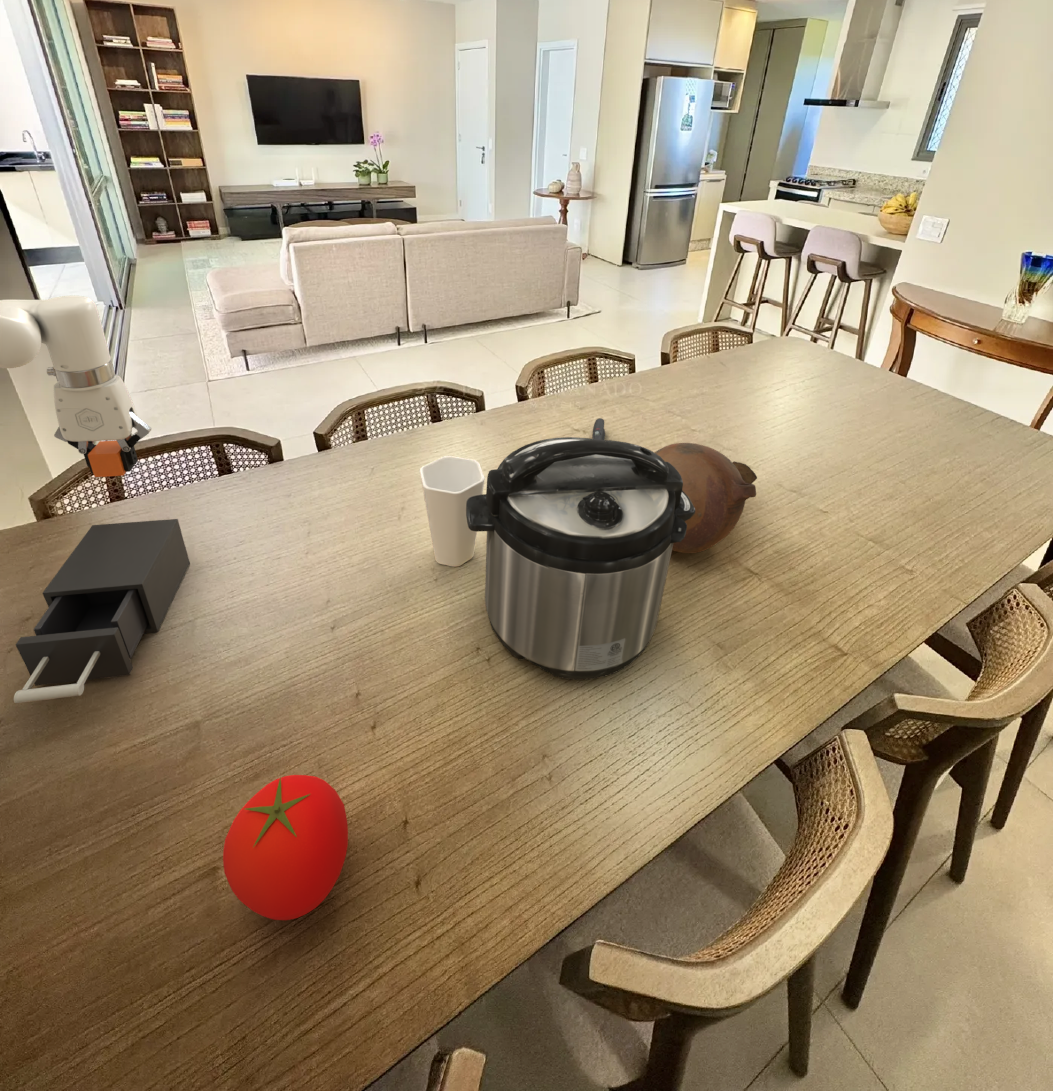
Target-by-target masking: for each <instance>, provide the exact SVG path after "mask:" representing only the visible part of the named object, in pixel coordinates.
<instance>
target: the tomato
mask: <svg viewBox="0 0 1053 1091" xmlns="http://www.w3.org/2000/svg"><path fill="white" fill-rule="evenodd" d="M348 847H349V826H348V818H347V812H346V808H345V804H344V802H343V800H342V799H341V796H340V795H339V794H338V792H337V791H336V789H335V788H334V787H333V786H332V785H330V783H329V782H327V781H326V780H324V779H323V778H320V777H318V776H314V775H308V774H291V775H285V776H282V777H281V776H280V777H278V778H276V779H274V780H272V781H271V782H269V783H267V784H266V785H264V787H262V788H261V789H259V790H258V791H257V792H256V793H255V794H254V795H253V796H252V797H251V798H250V799H249V800H248V801H247V802H246V803H245V804H244V805H243V806H242V808H241V809H240V810H239V811H238V813H237V815H236V816H235V817H234V819H233V821H232V823H231V825H230V827H229V829H228V832H227V834H226V836H225V839H224V843H223V850H222V865H223V873H224V875H225V877H226V880H227V883H228V885H229V887H230V889H231V891H232V893H233V894H234V896H236V898H237V899H238V900H239V901H240V902H241V903H242V904H243V905H245V906H246V908H248V909H250V910H251V911H252V912H254V913H256V914H258V915H259V916H261V917H264V918H266V919H270V920H273V921H290V920H294V919H298V918H300V917H303V916H305V915H307V914H309V913H310V912H312V911H313V910H315V909H316V908H317V907H319V906H320V905H321V904H322V903H323V901H325V899H326V898H327V897H328V896H329V894H330V893H331V891H332V890H333V888H334V886H335V885H336V883H337V881H338V879H339V878H340V875H341V873H342V870H343V867H344V865H345V861H346V856H347V852H348Z"/></svg>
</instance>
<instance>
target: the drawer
mask: <svg viewBox="0 0 1053 1091" xmlns="http://www.w3.org/2000/svg"><path fill="white" fill-rule="evenodd" d="M148 623H149V621H148V618H147V615H146V612H145V609H144V606H143V603H142V600H141V597H140V595H139V592H138V589H128V590H117V591H106V592H95V593H84V594H73V595H62V596H57V597H56V598H55V599H54V601H53V602H52V604H51V605H50V606H49V607H48V608H47V609H46V611H45V612H44V613H43V615H42V616H41V618H40V619H39V620H38V622H37V623H36V625H35V626H34V627H33V632H34V634H35V635H28V636H20V638H19V639H18V640H17V642H16V643H15V647H16V649H17V651H18V653H19V655H20V658H21V659H22V661H23V664H24V665H25V668H26V669H27V672H28V674H29V676H30V677H29V678H28V680H27V681H26V683H25V684H24V686H23V687H22V689H19V690H17V691H16V692H15V693H14V695H13V702H14V703H15V704H21V703H28V702H29V703H30V702H37V701H46V700H54V699H63V698H64V699H65V698H72V697H80V696H82V695H83V693H84V691H85V684H86V681H89V680H97V679H108V678H115V677H124V676H130V675H131V673H132V671H133V669H134V666H133V664H132V661H131V659H132V658H133V655H134V653H135V651H136V649H137V647H138V645H139V644H140V641H141V639H142V637H143V635H144V634H145V633H144V631H145V629H146V627H147V625H148ZM143 633H144V634H143ZM71 682H76V683H71ZM63 683H71V684H63ZM52 684H53V685H54V686H53V685H52ZM55 684H61V685H55ZM34 685H35V687H36V688H35V687H34V688H33V686H34ZM45 685H52V686H45ZM38 686H45V687H38Z"/></svg>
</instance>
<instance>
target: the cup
mask: <svg viewBox="0 0 1053 1091" xmlns="http://www.w3.org/2000/svg"><path fill="white" fill-rule="evenodd" d="M419 475H420V476H419V477H420V481H421V487H422V492H423V498H424V504H425V510H426V516H427V522H428V528H429V532H430V538H431V543H432V545H431V546H432V550H433V554H434V559H435V562H436V563H438V564H440V565H444V566H448V567H454V568H456V567H460V566H463V565H464V564H465V563H466V562H468V561H470V560H472V559H473V557H474V555H475V549H476V540H477V535H478V531H471V530H470V529H469V527H468V523H467V517H466V502H467V500H468V498H470V497H472V496H476V495H482V494H484V487H485V486H484V485H485V480H486V477H485V475H484V472H483V470H482V467H481V465H480V462H479V461H478V460H476V459H473V458H472V459H471V458H465V457H459V456H453V455H444V456H440V457H439V458H437V459H435V460H433V461H431V462H429V463H426V464H425V465H423V466H420V468H419Z"/></svg>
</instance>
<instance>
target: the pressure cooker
mask: <svg viewBox="0 0 1053 1091" xmlns="http://www.w3.org/2000/svg"><path fill="white" fill-rule="evenodd" d="M654 452H655V451H653V450H651V449H649V448H647V447H644V446H641V445H637V444H635V443H631V442H627V441H619V440H612V439H605V440H597V439H592V438H588V437H579V436H578V437H575V436H574V437H573V436H564V437H552V438H545V439H541V440H536V441H533V442H531V443H528V444H524V445H522V446H520V447H518V448H517V449H515V450H513V451H512V452H510V453H509V454H508V455H507V456H506V457H504V459H503V460H502V461H501V463H500V464H499V465H498V466H497V468H495V469H490V470H489V471H488V472H487V476H486V489H485V490H486V492H485V493H483V494H482V495H476V496H472V497H470V498H468V500H467V502H466V517H467V523H468V527H469V529H470V530H471V531H477V532H486V546H485V547H486V548H485V550H486V551H485V577H484V578H485V582H484V604H485V610H486V615H487V618H488V620H489V625H490V627H491V629H492V631H493V633H494V635H495V637H496V638H497V639H498V640H499V642H500V643H501V644H502V645H503V647H504V648H505V649H506V650H507V651H508V652H509V653H510V655H512V656H513V657H514V658H516V659H517V660H521V661H522V660H528V662H529V663H530V664H532V665H533V666H534V665H535V666H536V667H539V668H540V670H542V671H544V672H546V673H549V674H550V675H552V677H555V678H560V679H565V680H574V681H581V680H582V681H585V680H594V679H595V680H596V679H599V678H604V677H607V676H610V675H613V674H615V673H618V672H619V671H621V670H623V669H625V668H626V667H628V666H630V665H631V664H632V663H633V662H634V661H635V660H637V659H638V658H639V657H640V656H641V655H642V653H644V651H645V650H646V649H647V647H648V646H649V645H650V642H651V641H652V640H653V636H654V633H655V631H656V628H657V625H658V621H659V620H658V619H659V614H660V610H661V605H662V600H663V596H664V591H665V586H666V582H667V577H668V572H669V566H670V561H671V556H672V552H673V550H672V548H673V543H676V542H681V541H682V540H683V539H684V537H685V534H686V530H687V524H686V522H685V521H686V520H688V519H690V518H691V517H692V516H693V515H694V514H695V508H694V506H693V504H692V502H691V500H690V499H689V497H688V496H687V495H686V494H685V492H684V491H683V490H682V488H683V481H682V477H681V475H680V473H679V472H678V471H677V470H676V469H675V467H674V466H672V465H671V464H670V463H669V462H665V461H664V460H663V459H662V458H661V457H660V456H659V455H657V454H656V453H654Z"/></svg>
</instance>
